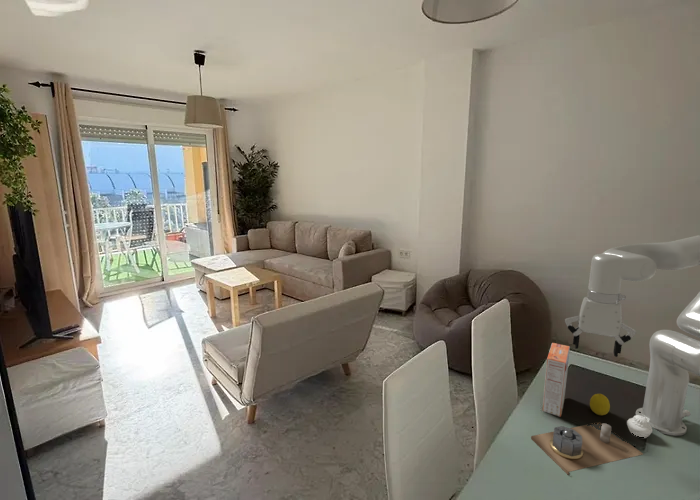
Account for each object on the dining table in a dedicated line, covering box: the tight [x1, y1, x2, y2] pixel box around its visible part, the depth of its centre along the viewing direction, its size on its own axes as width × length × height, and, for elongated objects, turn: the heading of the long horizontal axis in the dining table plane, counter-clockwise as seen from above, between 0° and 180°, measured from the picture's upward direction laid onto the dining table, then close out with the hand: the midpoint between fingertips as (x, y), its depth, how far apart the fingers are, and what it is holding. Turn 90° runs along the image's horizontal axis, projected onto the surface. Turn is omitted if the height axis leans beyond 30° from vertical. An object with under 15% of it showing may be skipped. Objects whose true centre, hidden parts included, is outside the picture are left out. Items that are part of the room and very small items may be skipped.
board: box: [530, 421, 644, 476], centre depth 105 cm, size 26×14×6 cm, turn 103°
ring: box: [553, 425, 582, 456], centre depth 103 cm, size 7×7×4 cm
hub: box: [550, 430, 583, 460], centre depth 103 cm, size 8×8×6 cm
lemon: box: [589, 393, 611, 416], centre depth 119 cm, size 6×6×8 cm
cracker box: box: [542, 342, 571, 418], centre depth 123 cm, size 14×6×21 cm, turn 144°
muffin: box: [626, 414, 653, 439], centre depth 109 cm, size 6×6×7 cm
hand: (595, 350), depth 106 cm, fingers open, 9 cm apart
